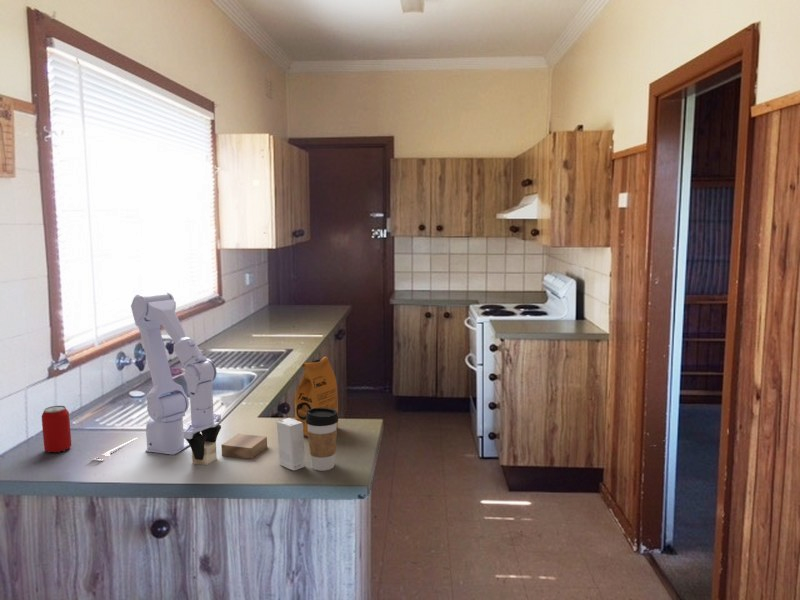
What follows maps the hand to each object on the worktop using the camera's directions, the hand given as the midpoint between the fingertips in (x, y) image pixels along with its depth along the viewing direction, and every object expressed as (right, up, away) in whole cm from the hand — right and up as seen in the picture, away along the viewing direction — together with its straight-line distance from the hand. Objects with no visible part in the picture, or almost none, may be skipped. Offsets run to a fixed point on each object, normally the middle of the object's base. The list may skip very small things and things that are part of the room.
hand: (204, 455), depth 172 cm
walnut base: (+9, 0, +7) cm, 11 cm away
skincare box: (+24, -2, -3) cm, 24 cm away
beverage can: (-43, -1, +8) cm, 44 cm away
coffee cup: (+32, -2, -4) cm, 32 cm away
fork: (-27, -1, +8) cm, 28 cm away
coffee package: (+27, +2, +22) cm, 35 cm away
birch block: (0, -1, 0) cm, 1 cm away
